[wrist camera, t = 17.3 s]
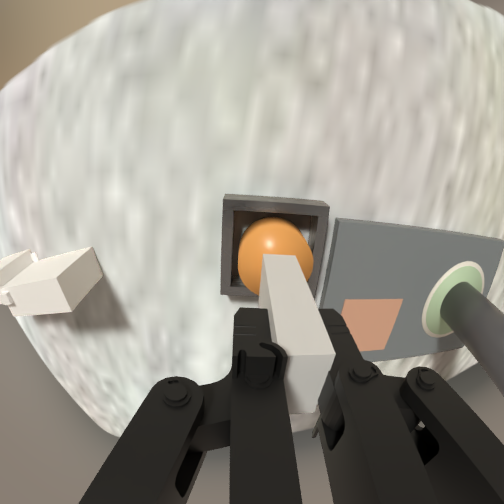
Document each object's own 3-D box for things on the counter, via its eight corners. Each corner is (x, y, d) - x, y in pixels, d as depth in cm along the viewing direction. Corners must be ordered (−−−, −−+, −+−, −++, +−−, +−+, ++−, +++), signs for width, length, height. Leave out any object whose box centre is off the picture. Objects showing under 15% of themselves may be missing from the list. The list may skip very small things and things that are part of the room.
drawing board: (499, 239, 18) (506, 242, 17) (459, 342, 23) (463, 348, 22) (335, 217, 17) (340, 222, 16) (306, 359, 22) (308, 367, 21)
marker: (478, 280, 18) (568, 368, 6) (462, 319, 20) (536, 412, 8) (449, 280, 18) (549, 385, 6) (432, 323, 20) (510, 432, 8)
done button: (308, 219, 16) (318, 232, 14) (299, 279, 18) (307, 299, 16) (240, 214, 16) (239, 227, 14) (237, 276, 18) (236, 296, 15)
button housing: (322, 201, 17) (329, 206, 15) (309, 286, 19) (314, 298, 18) (224, 193, 16) (223, 199, 15) (222, 282, 19) (220, 294, 17)
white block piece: (133, 239, 18) (96, 277, 13) (103, 344, 22) (78, 389, 16) (0, 164, 15) (-47, 178, 10) (-8, 270, 19) (-42, 297, 13)
